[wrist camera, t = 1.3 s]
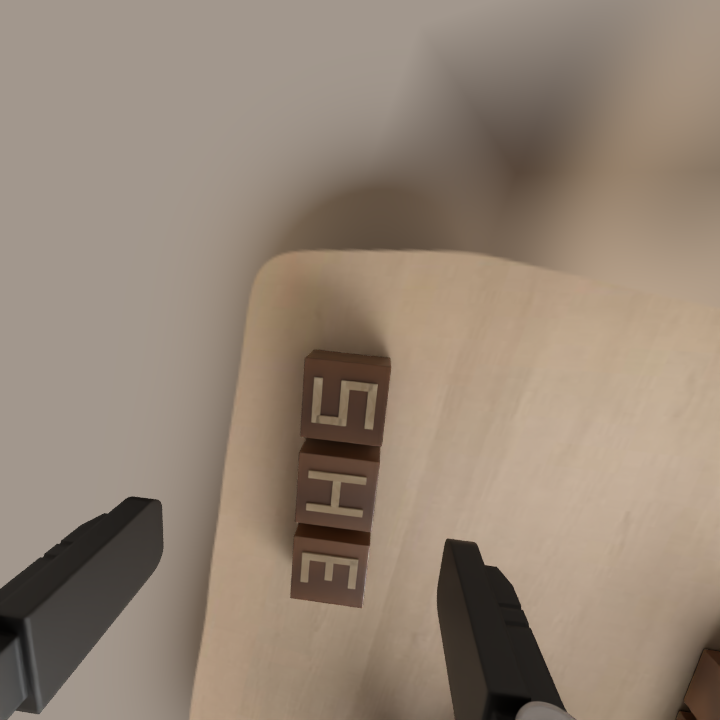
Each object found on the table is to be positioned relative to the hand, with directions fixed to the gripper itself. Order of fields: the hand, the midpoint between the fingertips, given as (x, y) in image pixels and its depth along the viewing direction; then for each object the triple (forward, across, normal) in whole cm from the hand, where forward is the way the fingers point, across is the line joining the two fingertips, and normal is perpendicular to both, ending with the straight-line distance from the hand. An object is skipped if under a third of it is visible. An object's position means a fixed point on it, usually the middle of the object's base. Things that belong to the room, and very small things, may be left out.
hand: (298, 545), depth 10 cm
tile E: (+14, 0, +12) cm, 18 cm away
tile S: (+14, 0, 0) cm, 14 cm away
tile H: (+14, 0, +6) cm, 15 cm away
